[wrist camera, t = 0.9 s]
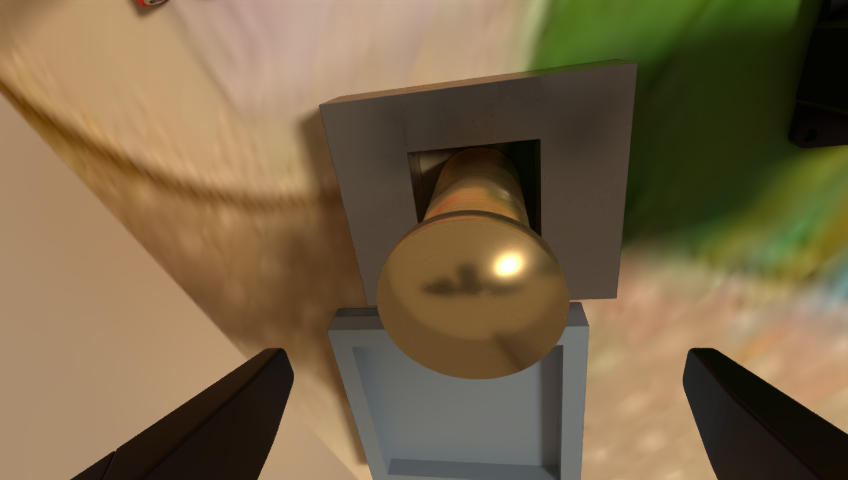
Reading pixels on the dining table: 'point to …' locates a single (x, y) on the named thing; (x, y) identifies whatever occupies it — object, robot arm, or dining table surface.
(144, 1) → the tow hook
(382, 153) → the block
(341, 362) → the tray
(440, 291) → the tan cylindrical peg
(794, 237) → the dining table surface
